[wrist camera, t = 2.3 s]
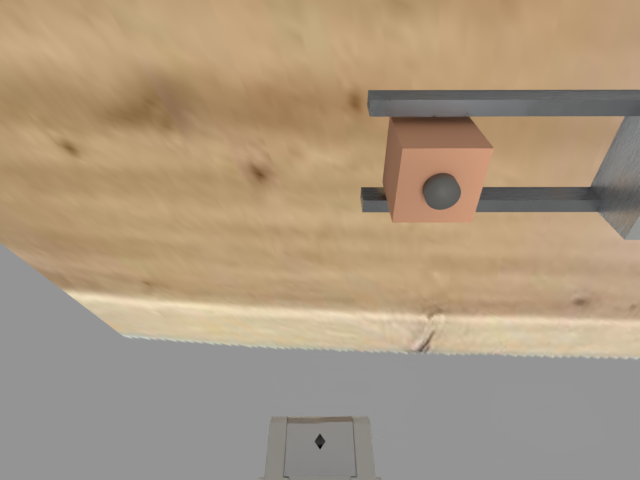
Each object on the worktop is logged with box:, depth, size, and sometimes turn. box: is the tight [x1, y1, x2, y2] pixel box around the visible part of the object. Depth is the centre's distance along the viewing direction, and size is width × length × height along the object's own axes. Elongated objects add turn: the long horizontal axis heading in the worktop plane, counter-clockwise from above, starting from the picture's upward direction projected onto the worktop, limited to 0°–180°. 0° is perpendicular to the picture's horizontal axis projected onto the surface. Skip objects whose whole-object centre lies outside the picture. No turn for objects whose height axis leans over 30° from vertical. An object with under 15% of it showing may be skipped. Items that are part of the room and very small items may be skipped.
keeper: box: [382, 117, 494, 223], centre depth 25 cm, size 5×5×6 cm
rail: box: [360, 90, 640, 240], centre depth 25 cm, size 19×8×5 cm, turn 90°
